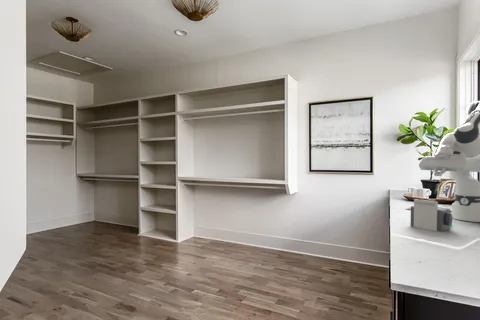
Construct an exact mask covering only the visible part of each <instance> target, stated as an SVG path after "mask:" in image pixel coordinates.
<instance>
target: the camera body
mask: <svg viewBox="0 0 480 320" xmlns="http://www.w3.org/2000/svg"><path fill="white" fill-rule="evenodd" d="M440 207H441V206H438V210H437V231H436V232H440V233H442V232H446V231H449V230H450V228H449V226H451V227H452V225H453V218H452V214H451V210H450V208H445V207H441V208H440ZM451 224H452V225H451ZM410 227H414V205H412V206H410Z"/></svg>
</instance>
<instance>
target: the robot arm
mask: <svg viewBox="0 0 480 320" xmlns="http://www.w3.org/2000/svg"><path fill="white" fill-rule="evenodd" d="M466 116H467V118H465V120H464V122H462V123H461V124H460V125H459V126H458V127H456V128H455V129H454V130H453V131H452V132H449V133H447V134H445V135H444V136H443V137H442V139H441V141H440V142H439V146H438V148H437V150H436V151H435V154H434V155H426V156H423V157H422V159H420V162H419V163H418V167H419V169H420V170H421V171H434V173H433V175H434V177H442V175H444V174H445V173H446V172H450V173H451V174H452V176H453V178H454V180H455V196H454V202H453V203H452V204H451V211H450V213H451V214H452V219H455V220H458V221H463V222H471V223H472V222H475V223H480V181H479V180H478V179H477V178H474V177H473V176H472V175H471V172H472V173H473V172H475V173H480V100H475V101H472V102H470V103H469V105H468V106H467V107H466Z"/></svg>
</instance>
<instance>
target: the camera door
mask: <svg viewBox="0 0 480 320" xmlns="http://www.w3.org/2000/svg"><path fill="white" fill-rule="evenodd" d="M438 205H439V202H438V201H434V200H425V199H417V198H414V199H413V206H414V226H413V228H416V229H417V228H418V229H422V230H427V231H432V232H438V231H437V210H438V207H439V206H438Z"/></svg>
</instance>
